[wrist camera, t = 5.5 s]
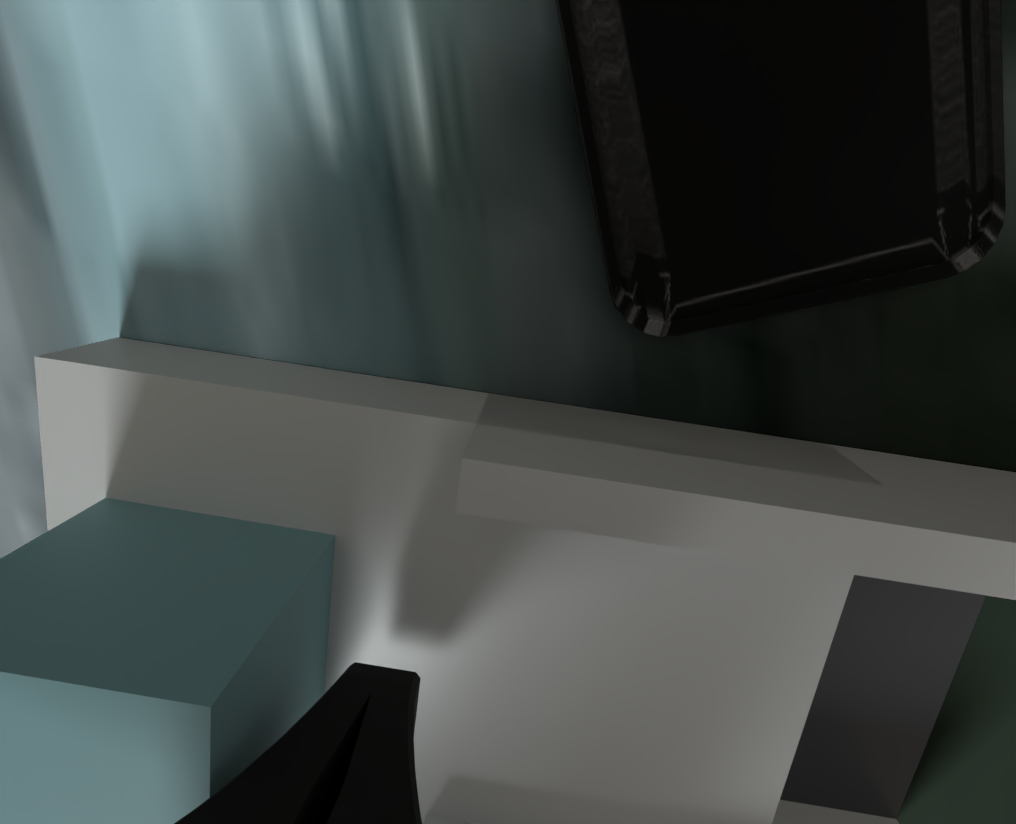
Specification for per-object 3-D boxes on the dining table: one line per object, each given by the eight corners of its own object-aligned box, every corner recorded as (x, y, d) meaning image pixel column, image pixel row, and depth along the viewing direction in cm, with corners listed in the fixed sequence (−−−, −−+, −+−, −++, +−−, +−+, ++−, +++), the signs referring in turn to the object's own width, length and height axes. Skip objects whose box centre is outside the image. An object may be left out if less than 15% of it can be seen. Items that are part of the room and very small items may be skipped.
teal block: (113, 691, 15) (-102, 914, 10) (105, 497, 13) (-150, 646, 8) (321, 726, 14) (207, 970, 10) (335, 534, 13) (210, 707, 8)
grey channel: (132, 712, 18) (-2, 863, 14) (117, 337, 15) (-61, 377, 10) (879, 836, 17) (989, 1036, 13) (1024, 473, 14) (1229, 575, 10)
